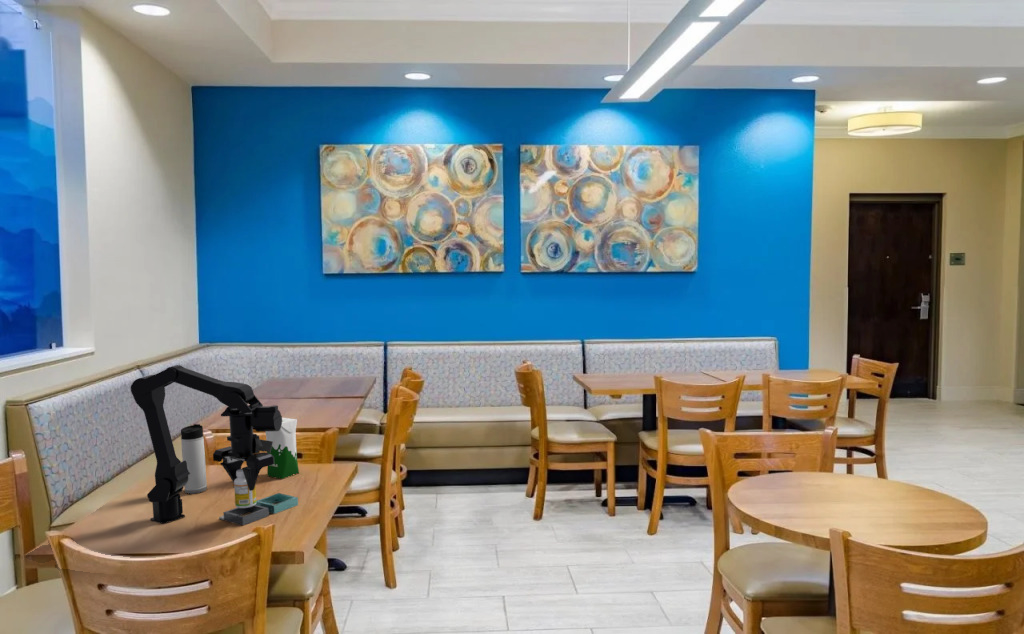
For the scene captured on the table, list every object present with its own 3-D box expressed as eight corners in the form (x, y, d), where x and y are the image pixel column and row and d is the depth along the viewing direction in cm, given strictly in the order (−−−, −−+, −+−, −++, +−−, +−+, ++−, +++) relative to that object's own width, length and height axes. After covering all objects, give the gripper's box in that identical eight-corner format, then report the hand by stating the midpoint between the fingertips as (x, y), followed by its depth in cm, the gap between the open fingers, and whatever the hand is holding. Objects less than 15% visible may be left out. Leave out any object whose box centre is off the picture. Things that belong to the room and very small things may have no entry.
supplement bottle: (249, 500, 200) (247, 466, 199) (260, 504, 196) (258, 469, 196) (231, 506, 196) (229, 470, 195) (242, 510, 192) (240, 474, 191)
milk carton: (263, 476, 235) (259, 415, 233) (285, 469, 242) (282, 410, 241) (281, 480, 230) (277, 418, 228) (303, 472, 238) (300, 412, 236)
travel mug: (211, 487, 225) (207, 423, 224) (200, 494, 219) (195, 428, 217) (192, 487, 226) (188, 424, 224) (180, 494, 219) (176, 429, 218)
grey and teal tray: (243, 525, 191) (242, 517, 190) (219, 519, 196) (218, 511, 196) (298, 504, 206) (297, 497, 206) (274, 499, 211) (274, 491, 211)
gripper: (289, 428, 196) (292, 485, 197) (245, 422, 206) (248, 476, 207) (254, 438, 187) (257, 497, 188) (210, 430, 197) (213, 486, 198)
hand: (245, 488), depth 196 cm, fingers closed on supplement bottle, 5 cm apart
